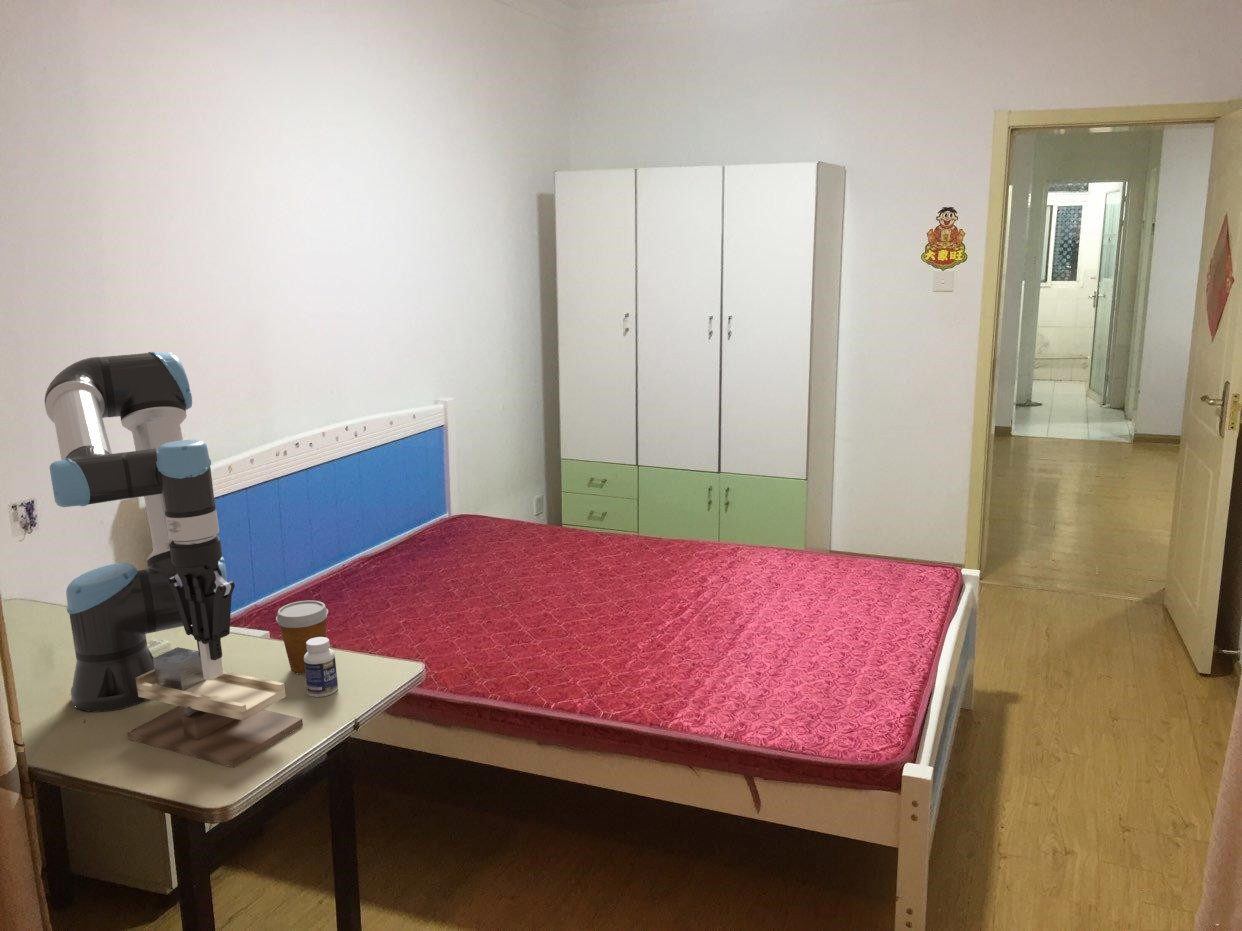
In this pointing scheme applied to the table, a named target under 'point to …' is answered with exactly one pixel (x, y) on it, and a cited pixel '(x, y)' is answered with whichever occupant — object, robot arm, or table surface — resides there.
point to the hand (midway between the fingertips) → (213, 676)
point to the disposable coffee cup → (301, 629)
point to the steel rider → (178, 669)
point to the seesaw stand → (215, 734)
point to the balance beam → (216, 694)
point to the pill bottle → (320, 668)
